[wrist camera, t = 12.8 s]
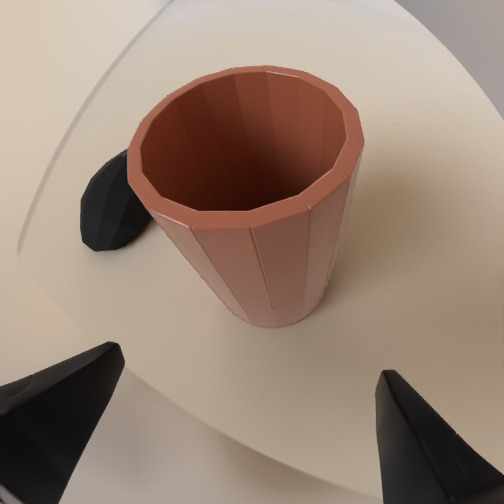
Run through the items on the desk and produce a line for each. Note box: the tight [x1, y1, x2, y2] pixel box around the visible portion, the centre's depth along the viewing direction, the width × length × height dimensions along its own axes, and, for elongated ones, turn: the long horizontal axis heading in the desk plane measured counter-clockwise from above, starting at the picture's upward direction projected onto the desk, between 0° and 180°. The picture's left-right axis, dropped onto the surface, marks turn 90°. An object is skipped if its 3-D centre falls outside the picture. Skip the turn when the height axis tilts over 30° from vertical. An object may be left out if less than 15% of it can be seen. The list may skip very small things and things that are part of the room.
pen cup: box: [127, 65, 364, 328], centre depth 13 cm, size 7×7×12 cm
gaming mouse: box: [80, 149, 152, 252], centre depth 22 cm, size 6×15×4 cm, turn 149°
